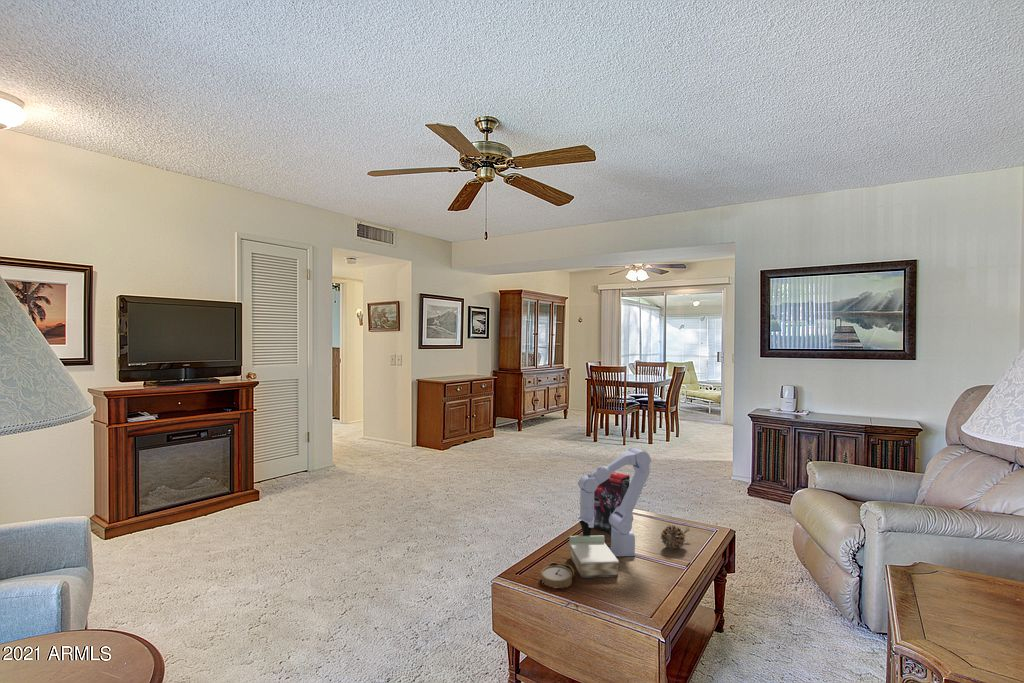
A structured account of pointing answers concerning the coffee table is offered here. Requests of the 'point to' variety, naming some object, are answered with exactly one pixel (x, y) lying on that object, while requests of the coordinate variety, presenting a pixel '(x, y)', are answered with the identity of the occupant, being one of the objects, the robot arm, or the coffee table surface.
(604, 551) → the lid
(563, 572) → the alarm clock
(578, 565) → the case
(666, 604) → the coffee table surface
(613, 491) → the graphics card box
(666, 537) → the pine cone
